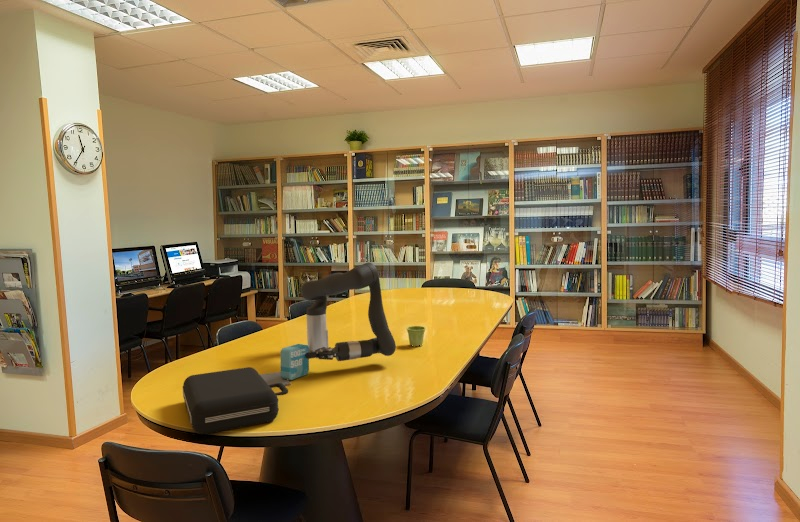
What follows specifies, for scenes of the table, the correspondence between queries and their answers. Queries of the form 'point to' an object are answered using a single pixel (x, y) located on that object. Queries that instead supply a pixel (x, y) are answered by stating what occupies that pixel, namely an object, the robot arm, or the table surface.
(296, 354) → the data package
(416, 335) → the plant pot
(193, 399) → the briefcase
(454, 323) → the table surface
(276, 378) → the mat
